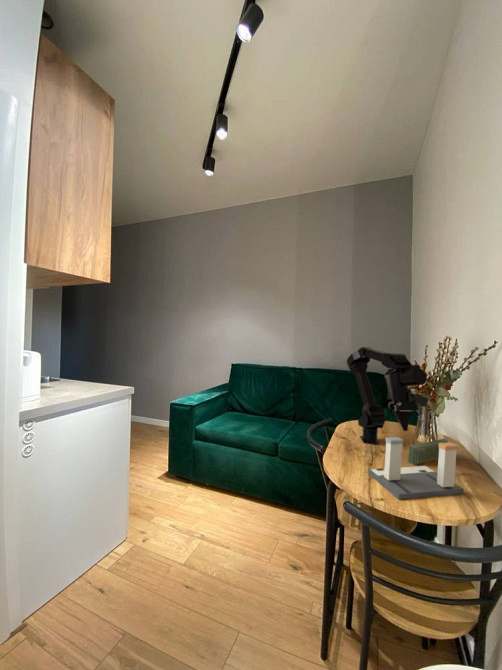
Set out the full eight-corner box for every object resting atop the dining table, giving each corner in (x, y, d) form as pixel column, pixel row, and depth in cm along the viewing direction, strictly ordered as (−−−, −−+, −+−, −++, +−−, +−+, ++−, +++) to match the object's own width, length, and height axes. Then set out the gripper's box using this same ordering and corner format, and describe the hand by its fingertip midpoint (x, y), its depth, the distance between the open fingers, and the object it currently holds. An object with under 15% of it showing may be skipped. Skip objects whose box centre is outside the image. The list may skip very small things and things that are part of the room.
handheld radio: (405, 462, 98) (447, 452, 108) (414, 466, 95) (456, 456, 105) (407, 444, 98) (449, 436, 108) (416, 448, 95) (458, 439, 105)
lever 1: (383, 476, 83) (385, 437, 83) (395, 475, 84) (397, 437, 84) (388, 480, 81) (391, 440, 80) (400, 479, 82) (403, 440, 81)
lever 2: (436, 483, 81) (438, 443, 80) (447, 482, 82) (450, 442, 81) (442, 487, 78) (445, 446, 78) (455, 486, 79) (457, 445, 79)
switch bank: (368, 473, 88) (368, 468, 88) (425, 469, 92) (425, 464, 92) (398, 499, 75) (399, 493, 75) (463, 493, 79) (463, 487, 79)
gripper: (432, 384, 89) (441, 434, 85) (416, 387, 107) (423, 428, 103) (395, 385, 92) (402, 433, 88) (385, 388, 110) (391, 428, 106)
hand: (405, 430), depth 96 cm, fingers closed
